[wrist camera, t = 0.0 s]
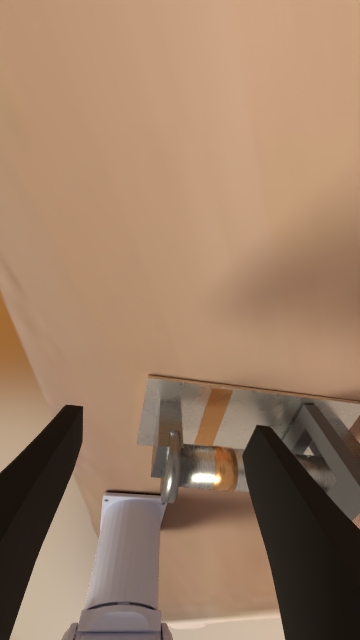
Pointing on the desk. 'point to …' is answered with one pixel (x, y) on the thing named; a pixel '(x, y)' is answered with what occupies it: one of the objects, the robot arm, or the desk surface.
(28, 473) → the robot arm
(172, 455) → the rail
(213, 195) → the desk surface
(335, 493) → the collar
